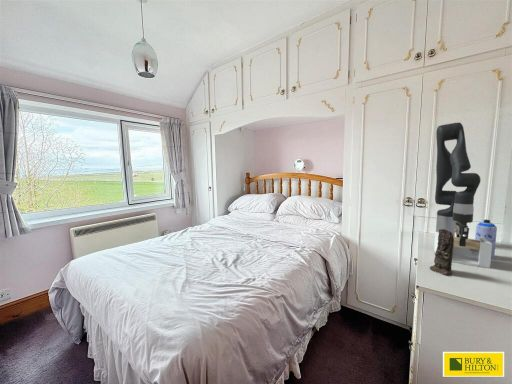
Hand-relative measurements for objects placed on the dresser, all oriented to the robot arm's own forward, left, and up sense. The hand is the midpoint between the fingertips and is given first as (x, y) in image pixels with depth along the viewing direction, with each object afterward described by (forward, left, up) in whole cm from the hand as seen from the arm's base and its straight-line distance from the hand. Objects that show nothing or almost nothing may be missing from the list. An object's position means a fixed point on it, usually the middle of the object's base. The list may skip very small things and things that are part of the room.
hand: (460, 244), depth 112 cm
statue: (+21, -10, -9) cm, 24 cm away
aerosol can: (-11, +12, -9) cm, 19 cm away
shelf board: (0, 0, -1) cm, 1 cm away
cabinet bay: (0, 0, -8) cm, 8 cm away
